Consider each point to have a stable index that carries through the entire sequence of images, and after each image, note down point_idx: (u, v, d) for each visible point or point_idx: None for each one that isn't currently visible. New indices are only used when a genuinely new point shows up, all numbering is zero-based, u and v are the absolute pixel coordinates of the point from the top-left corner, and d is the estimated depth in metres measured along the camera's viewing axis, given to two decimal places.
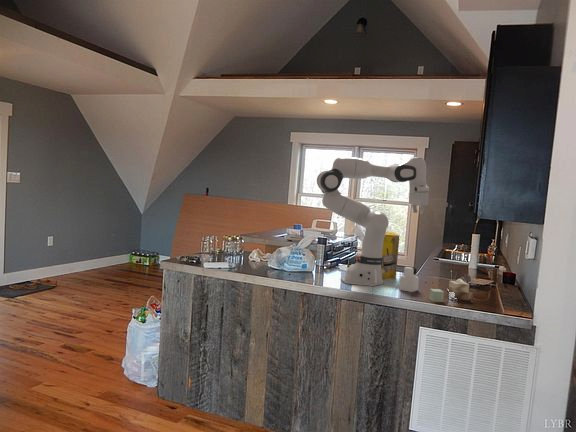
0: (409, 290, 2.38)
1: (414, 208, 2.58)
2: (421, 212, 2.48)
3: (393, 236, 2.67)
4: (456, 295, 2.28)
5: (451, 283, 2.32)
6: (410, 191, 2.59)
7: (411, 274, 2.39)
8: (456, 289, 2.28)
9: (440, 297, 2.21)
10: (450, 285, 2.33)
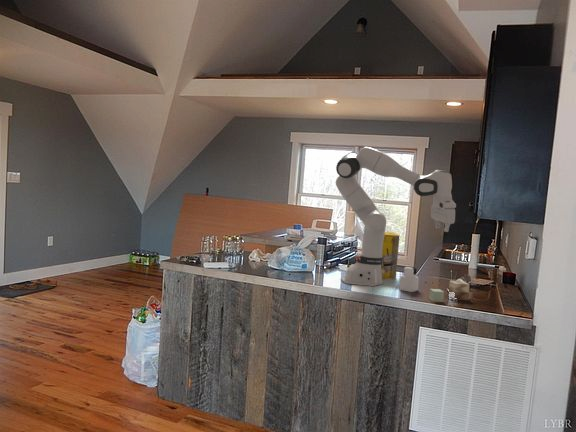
0: (409, 290, 2.38)
1: (437, 223, 2.41)
2: (446, 229, 2.31)
3: (393, 236, 2.67)
4: (456, 295, 2.28)
5: (451, 283, 2.32)
6: (433, 205, 2.41)
7: (411, 274, 2.39)
8: (456, 289, 2.28)
9: (440, 297, 2.21)
10: (450, 285, 2.33)
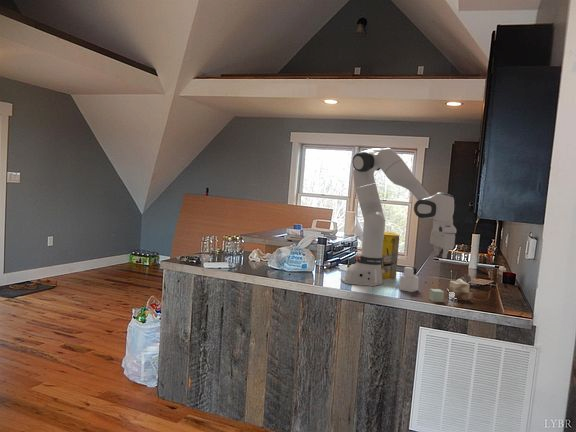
0: (409, 290, 2.38)
1: (435, 249, 2.27)
2: (444, 256, 2.17)
3: (393, 236, 2.67)
4: (456, 295, 2.28)
5: (451, 283, 2.32)
6: (433, 230, 2.28)
7: (411, 274, 2.39)
8: (456, 289, 2.28)
9: (440, 297, 2.21)
10: (450, 285, 2.33)
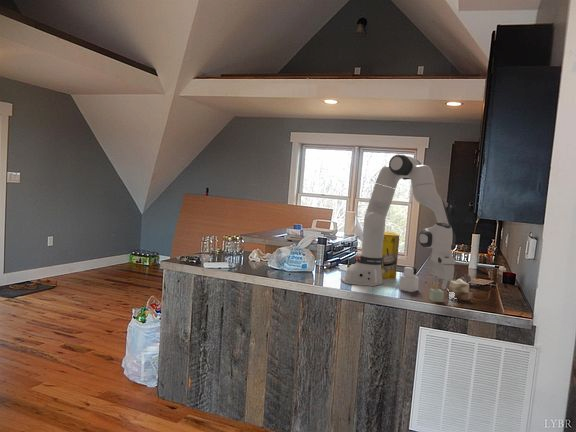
0: (409, 290, 2.38)
1: (434, 279, 2.29)
2: (443, 286, 2.18)
3: (393, 236, 2.67)
4: (456, 295, 2.28)
5: (451, 283, 2.32)
6: (431, 259, 2.29)
7: (411, 274, 2.39)
8: (456, 289, 2.28)
9: (440, 297, 2.21)
10: (450, 285, 2.33)
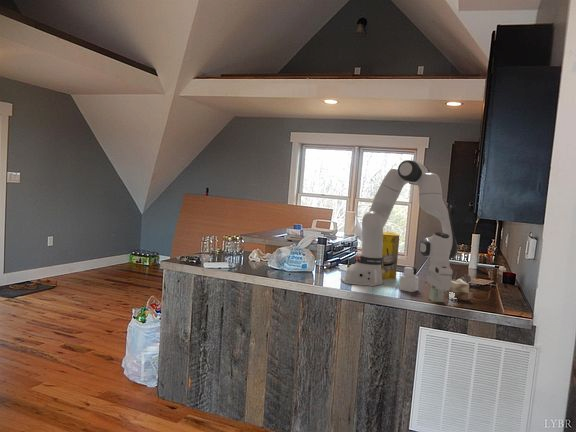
0: (409, 290, 2.38)
1: None
2: (439, 295, 2.20)
3: (393, 236, 2.67)
4: (455, 295, 2.28)
5: (451, 283, 2.32)
6: None
7: (411, 274, 2.39)
8: (456, 289, 2.28)
9: None
10: (450, 285, 2.33)
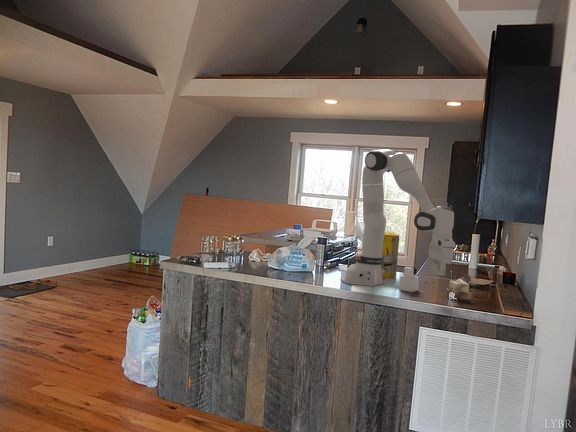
0: (409, 290, 2.38)
1: None
2: (441, 269, 2.19)
3: (393, 236, 2.67)
4: (455, 295, 2.28)
5: (451, 283, 2.32)
6: (431, 242, 2.29)
7: (411, 274, 2.39)
8: (456, 289, 2.28)
9: None
10: (450, 285, 2.33)
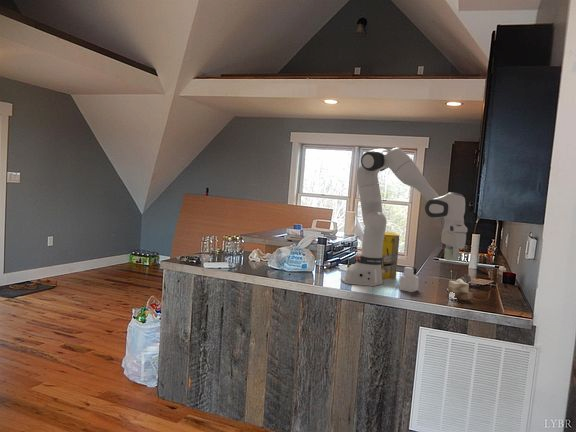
0: (409, 290, 2.38)
1: None
2: (454, 254, 2.22)
3: (393, 236, 2.67)
4: (455, 295, 2.28)
5: (451, 283, 2.32)
6: (444, 229, 2.32)
7: (411, 274, 2.39)
8: (456, 289, 2.28)
9: None
10: (450, 285, 2.33)
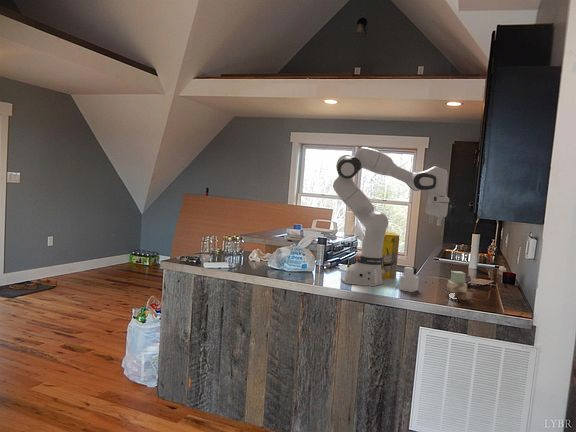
0: (409, 290, 2.38)
1: (431, 219, 2.51)
2: (438, 223, 2.41)
3: (393, 236, 2.67)
4: None
5: (449, 283, 2.32)
6: (428, 201, 2.52)
7: (411, 274, 2.39)
8: (454, 288, 2.28)
9: (462, 278, 2.29)
10: (448, 285, 2.33)
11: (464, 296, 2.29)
